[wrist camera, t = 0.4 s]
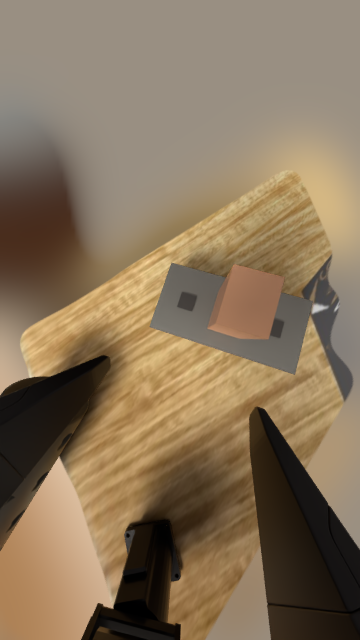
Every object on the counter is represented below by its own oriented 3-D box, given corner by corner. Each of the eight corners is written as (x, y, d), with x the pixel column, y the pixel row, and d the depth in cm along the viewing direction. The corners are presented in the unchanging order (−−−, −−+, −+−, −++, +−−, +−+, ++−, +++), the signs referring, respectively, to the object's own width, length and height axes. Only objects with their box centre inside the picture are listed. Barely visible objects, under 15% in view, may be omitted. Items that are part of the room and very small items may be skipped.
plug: (230, 338, 22) (268, 339, 11) (204, 330, 22) (215, 323, 11) (239, 306, 22) (285, 277, 11) (213, 299, 23) (233, 264, 12)
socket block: (271, 366, 22) (295, 375, 17) (158, 329, 24) (149, 326, 19) (286, 309, 23) (314, 300, 18) (175, 277, 25) (171, 261, 20)
